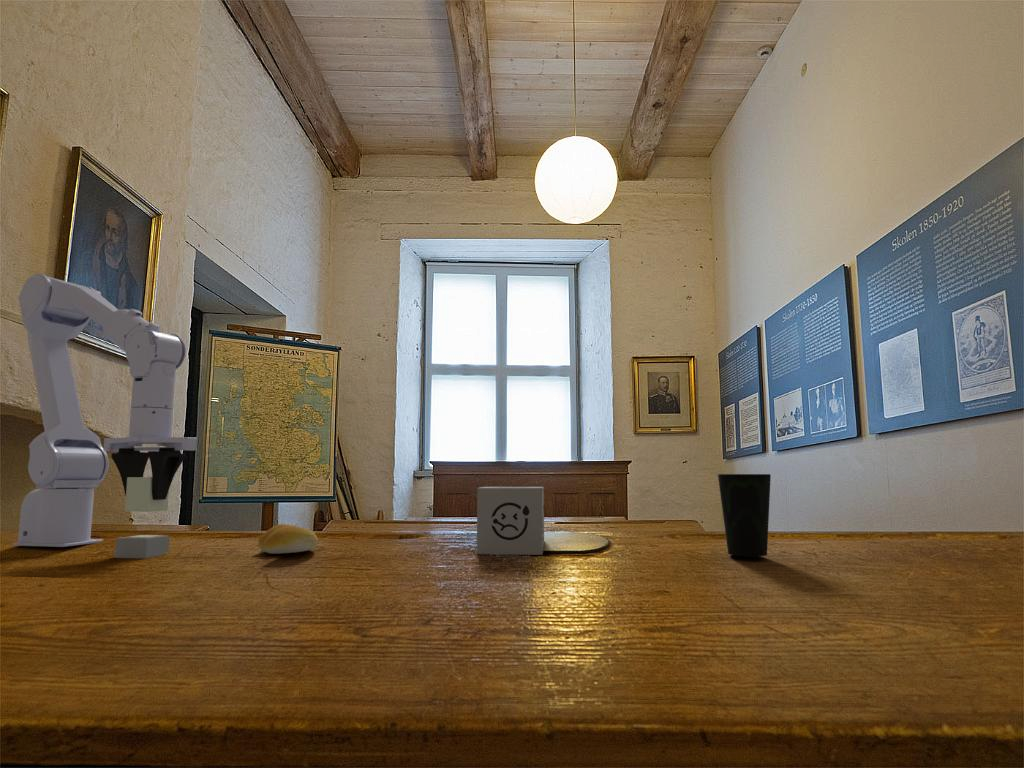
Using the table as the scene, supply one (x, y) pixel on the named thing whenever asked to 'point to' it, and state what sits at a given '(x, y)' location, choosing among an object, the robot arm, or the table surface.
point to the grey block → (141, 546)
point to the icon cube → (510, 520)
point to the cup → (745, 512)
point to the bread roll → (287, 539)
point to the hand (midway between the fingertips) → (145, 499)
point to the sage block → (142, 496)
